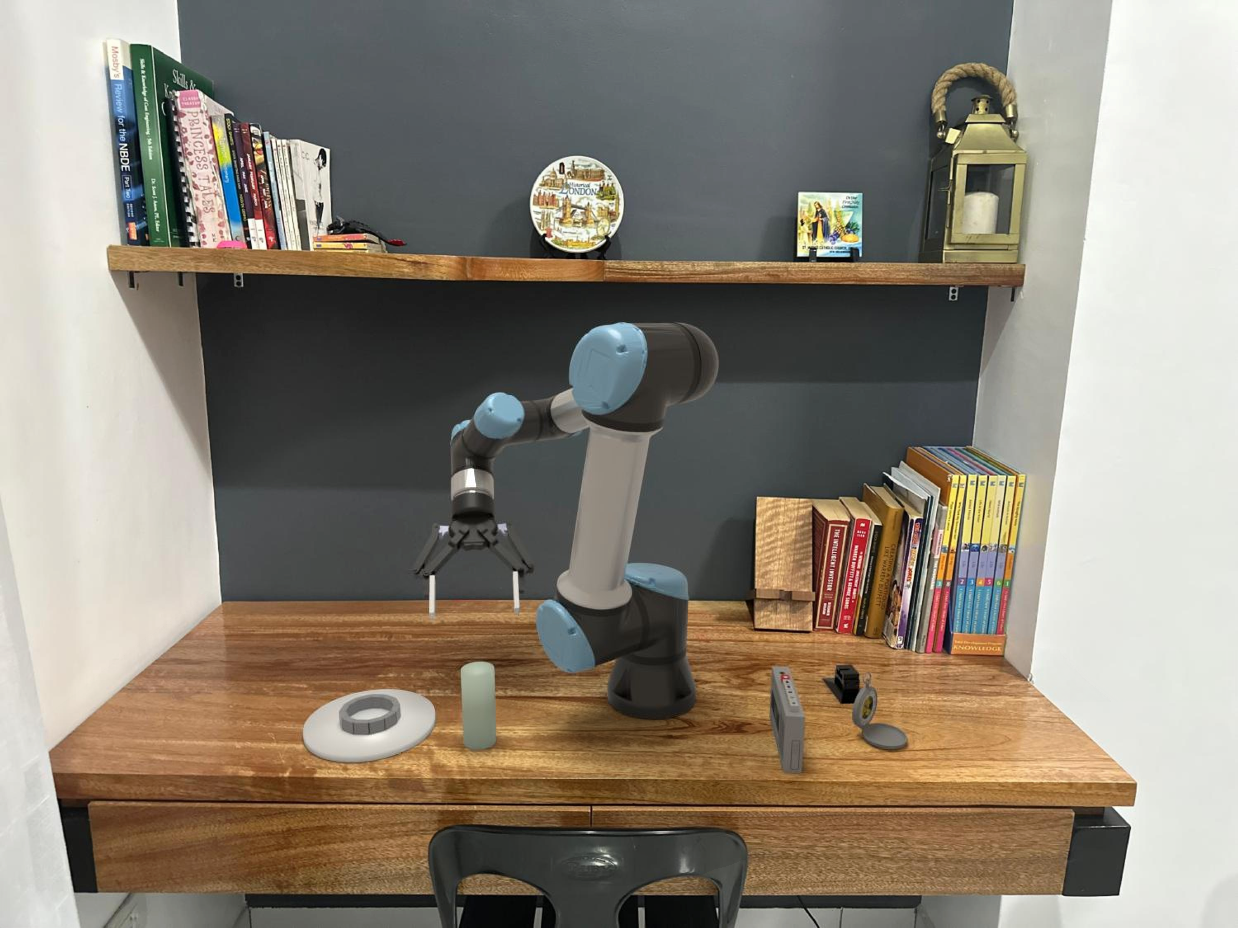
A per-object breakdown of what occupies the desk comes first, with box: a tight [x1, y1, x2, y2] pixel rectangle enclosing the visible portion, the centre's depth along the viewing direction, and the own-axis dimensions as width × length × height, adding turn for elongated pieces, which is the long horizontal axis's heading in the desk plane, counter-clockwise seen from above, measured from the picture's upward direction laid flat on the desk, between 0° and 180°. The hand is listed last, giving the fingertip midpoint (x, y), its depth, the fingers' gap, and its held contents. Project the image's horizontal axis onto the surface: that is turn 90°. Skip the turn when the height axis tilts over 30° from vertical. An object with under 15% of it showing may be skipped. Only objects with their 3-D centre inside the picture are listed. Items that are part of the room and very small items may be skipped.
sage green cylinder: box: [460, 661, 497, 751], centre depth 122 cm, size 5×5×12 cm
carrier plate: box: [302, 688, 436, 764], centre depth 126 cm, size 20×20×3 cm
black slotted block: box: [821, 663, 862, 705], centre depth 139 cm, size 12×7×5 cm, turn 5°
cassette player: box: [768, 665, 806, 774], centre depth 122 cm, size 16×3×10 cm, turn 177°
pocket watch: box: [851, 671, 908, 750], centre depth 124 cm, size 8×8×10 cm
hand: (474, 613), depth 130 cm, fingers open, 13 cm apart
